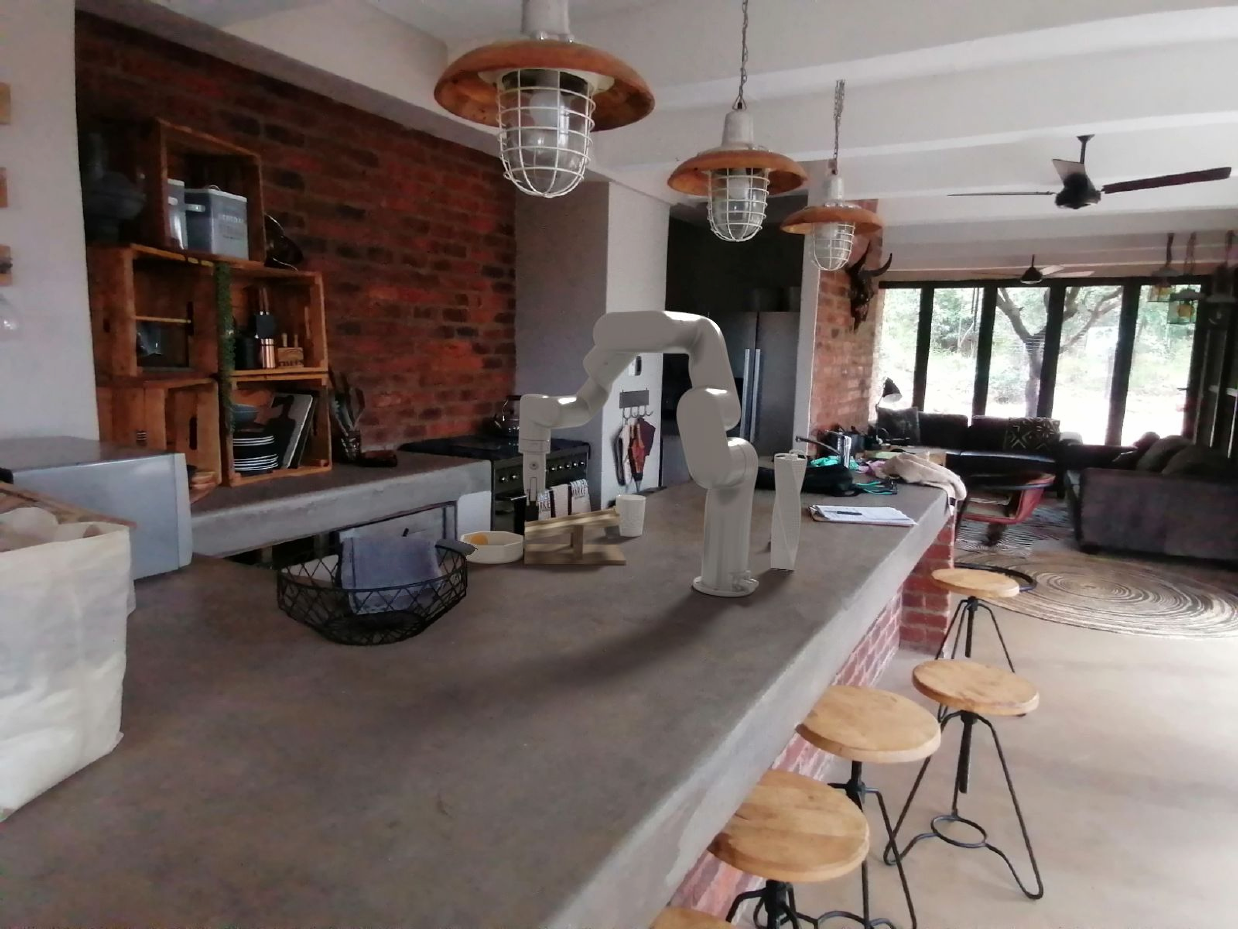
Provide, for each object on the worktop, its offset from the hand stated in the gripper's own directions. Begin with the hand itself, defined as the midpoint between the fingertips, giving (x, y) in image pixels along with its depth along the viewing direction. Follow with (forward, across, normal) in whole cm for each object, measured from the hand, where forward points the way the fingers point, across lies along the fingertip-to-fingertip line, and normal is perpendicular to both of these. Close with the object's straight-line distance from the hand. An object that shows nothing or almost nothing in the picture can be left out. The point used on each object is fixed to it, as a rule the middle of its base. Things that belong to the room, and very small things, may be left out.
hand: (531, 521), depth 192 cm
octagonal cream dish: (+6, -8, +9) cm, 14 cm away
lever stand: (+6, -8, -10) cm, 15 cm away
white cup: (+6, +15, -26) cm, 31 cm away
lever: (+2, -5, -10) cm, 11 cm away
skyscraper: (+6, -17, -58) cm, 61 cm away
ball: (+4, -8, +12) cm, 15 cm away
